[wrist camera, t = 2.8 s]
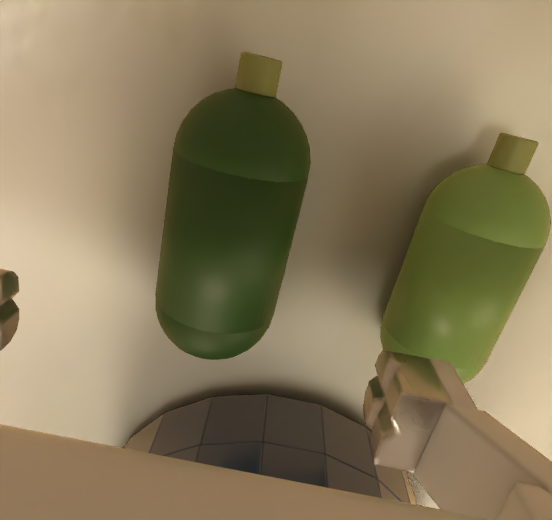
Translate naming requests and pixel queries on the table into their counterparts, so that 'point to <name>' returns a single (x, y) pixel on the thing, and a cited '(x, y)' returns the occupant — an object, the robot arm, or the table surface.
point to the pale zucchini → (469, 260)
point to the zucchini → (231, 214)
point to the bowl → (274, 443)
